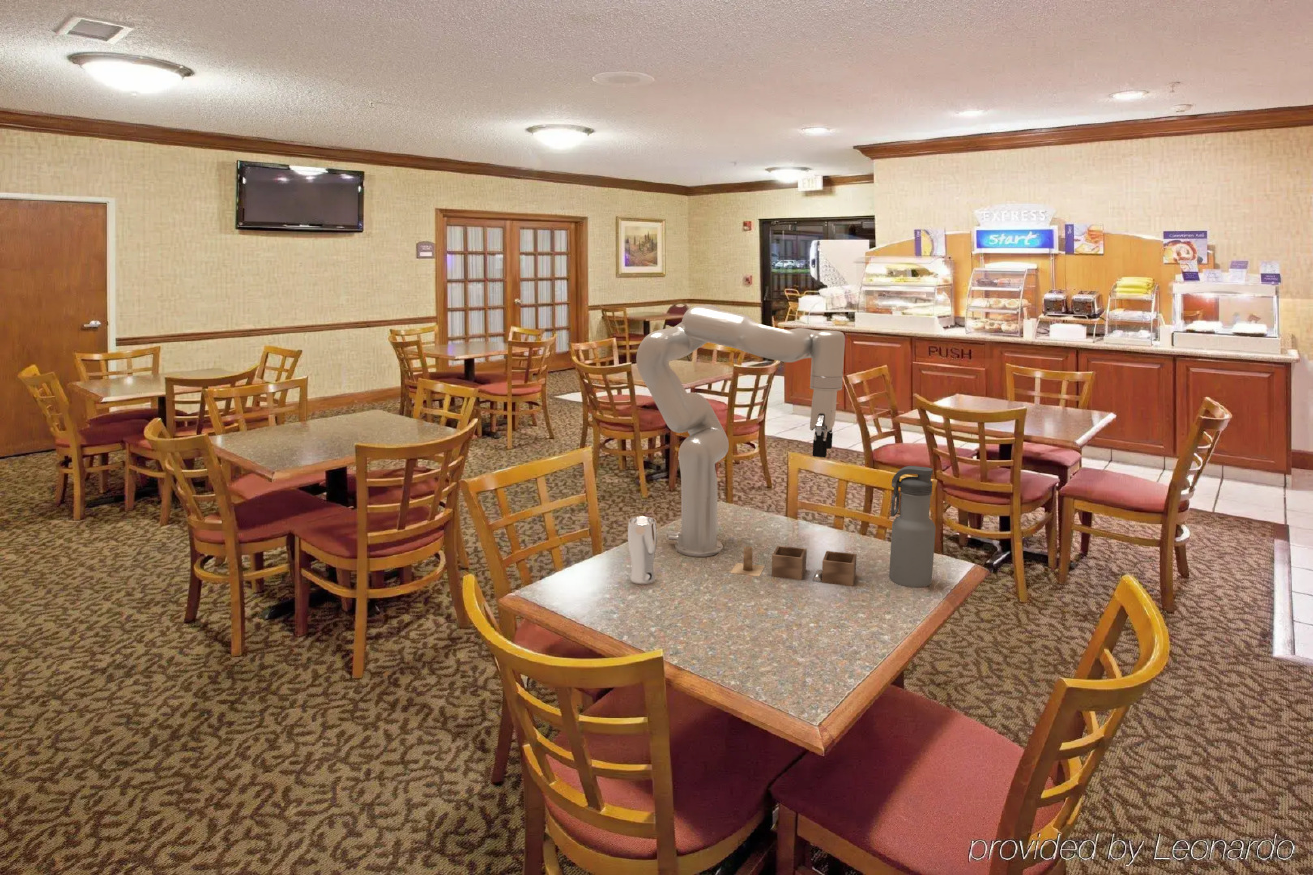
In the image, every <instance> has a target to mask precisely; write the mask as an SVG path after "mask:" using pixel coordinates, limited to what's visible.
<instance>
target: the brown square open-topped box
mask: <svg viewBox="0 0 1313 875" xmlns="http://www.w3.org/2000/svg"><path fill="white" fill-rule="evenodd" d="M857 557H858V554H857V553H850V552H849V553H848V552H841V551H840V552H839V551H833V550H826V552H825V554H824V557H823V558H822V564H821V565H822V567H821V568H822V569H821V570H822V581H821V583H822V584H830V585H838V586H839V585H840V586H848V587H854V584H855V579H856V576H857Z"/></svg>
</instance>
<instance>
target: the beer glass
mask: <svg viewBox="0 0 1313 875" xmlns="http://www.w3.org/2000/svg"><path fill="white" fill-rule="evenodd" d="M627 526H628V527H627V546H628V552H629V556H630V563H631V573H630V577H629V581H630V582H631V583H633V584H636V585H649V584H652V583H654V582H655V581H656V575H655V569H654V563H655V558H656V557H655V556H656V550H657V544H658V541H657V540H658V534H657V531H658V530H657V520H656V519H655V518H654V517H650V516H634V517H631V518H629V519H628V525H627Z"/></svg>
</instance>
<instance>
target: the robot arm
mask: <svg viewBox="0 0 1313 875" xmlns="http://www.w3.org/2000/svg"><path fill="white" fill-rule="evenodd" d="M707 343H710V344H714V345H718V346H719V345H720V346H724V347H726V348H727V347H729V348H733V349H735V350H736V349H737V350H739V351H742V352H744V353H748V354H751V355H754V356H757V357H761V358H764V359H770V360H774V361H778V362H782V363H783V362H784V363H795V362H798V361H801V360H804V359H811V362H810V379H809V381H810V383H809V389H811V390H813V393H812V400H811V411H810V420H809V422H810V423H809V430H810V431H814V435H813V441H812V443H813V444H812V457H815V458H826V457H827V451H828V449H829V450H831V449H832V447H833V435H834V434H833V433H834V432H833V427H835V426H834V425H835V422H836V413H837V412H836V411H837V399H838V398H837V397H838V391H842V390H843V377H844V376H843V375H844V361H845V360H844V358H845V347H846V346H845V343H846V335H845V334H844V333H843V332H842V331H840V330H839V331H838V330H825V329H824V330H814V329H810V328H804V327H803V328H802V327H797V328H791V329H784V328H779V327H773V326H770V325H765V324H762V323H759V322H756V321H754V320H753V319H752V318H751V316H748V315H747V314H741V313H737V312H731V311H726V310H724V309H723V310H722V309H721V308H720V307H718V306H717V305H713V304H703V305H702V304H701V305H694V306H691V307H690V308H688V309H687V310H686V311H685V312H684V314H683V316H682V318H681V322H679V323H678V324H677V325H674V326H673V327H670V328H663V329H658V330H654V331H652V332H650V333H649V334H647V335H646V336H645V337H644V338H643V339H642V340H641V342H640V343H639V346H638V347H637V352H636V360H635V361H636V367H637V370H638V372H639V373H638V374H639V375H640V378H641V379H642V381H643V383H644V385H645V386H646V387H647V389H648V391H649V393H650V394H651V397H652V400H653V401H654V404H655V406H656V407H657V409H658V411H659V412H660V414H661V416H662V418H663V420H664V422H665V424H666V426H667V428H669V429H670V430H671V432H674V433H679V434H682V433H686V432H687V433H688V434H689V436H687V437H686V438H685V439H684V440H683V442H682V443H681V444H680V446H679V450H678V464H679V468H680V469H679V471H680V481H681V482H680V483H681V485H680V486H681V487H680V488H681V489H680V490H681V492H680V493H681V498H680V500H681V502H680V504H681V512H680V513H681V517H680V518H681V519H680V520H681V521H680V522H681V530H678V531H674V530H667V531H666V537H667V538H668V540H669V541H676V543H675V550H676V552H678V553H680V554H681V555H685V556H688V557H699V558H701V557H703V558H704V557H705V558H706V557H711V556H714V555H715V556H716V555H718V554H719V553H720V552H722V551H723V546H724V545H723V543H721V541H719V540H718V477H717V472H716V464H717V463H718V462H720V461H721V460H722V459H724V457H726V455H727V454H728V451H729V447H730V444H729V438H728V436H727V434H726V432H725V430H724V428H723V426H722V424H721V422H720V420H719V418H718V416H717V414H716V413H715V411H714V409H713V407H712V405H711V403H710V402H709V401H708V400H707V399H706V398H705V397H704V396H703V395H701V394H700V393H697V392H687V390H686V389H685V387H684V385H683V383H682V381H681V379H680V377H679V375H677V373H676V372H675V371H674V370H673V369H672V367H671V366H670V362H672V361H677V360H680V359H682V358H685V357H687V356H689V355H690V354H692V353H693V352H695V351H696V350H698V349H699V348H701V347H703V346H704V345H706V344H707Z"/></svg>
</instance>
